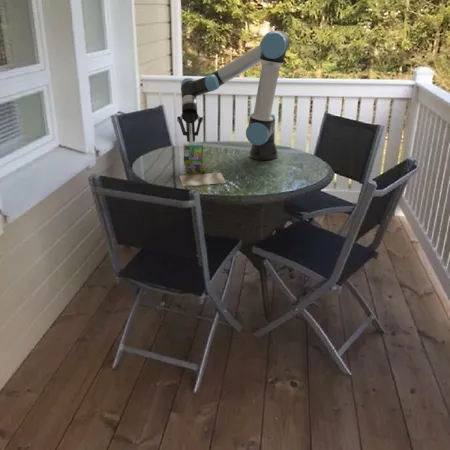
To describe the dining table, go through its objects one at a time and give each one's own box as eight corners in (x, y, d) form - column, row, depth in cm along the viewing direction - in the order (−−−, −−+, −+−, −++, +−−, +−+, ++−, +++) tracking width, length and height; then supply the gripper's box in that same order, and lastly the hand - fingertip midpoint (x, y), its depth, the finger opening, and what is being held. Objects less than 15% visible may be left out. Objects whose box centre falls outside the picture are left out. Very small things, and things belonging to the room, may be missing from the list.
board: (220, 173, 249) (220, 172, 248) (226, 183, 234) (226, 182, 234) (179, 176, 246) (179, 175, 245) (182, 187, 231) (182, 185, 231)
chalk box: (205, 174, 249) (202, 156, 236) (186, 174, 249) (182, 156, 236) (205, 158, 253) (203, 140, 240) (187, 159, 254) (183, 140, 241)
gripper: (201, 111, 259) (204, 151, 250) (175, 110, 257) (177, 150, 248) (203, 102, 252) (205, 142, 243) (176, 101, 251) (178, 142, 241)
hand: (191, 146), depth 246 cm, fingers closed
